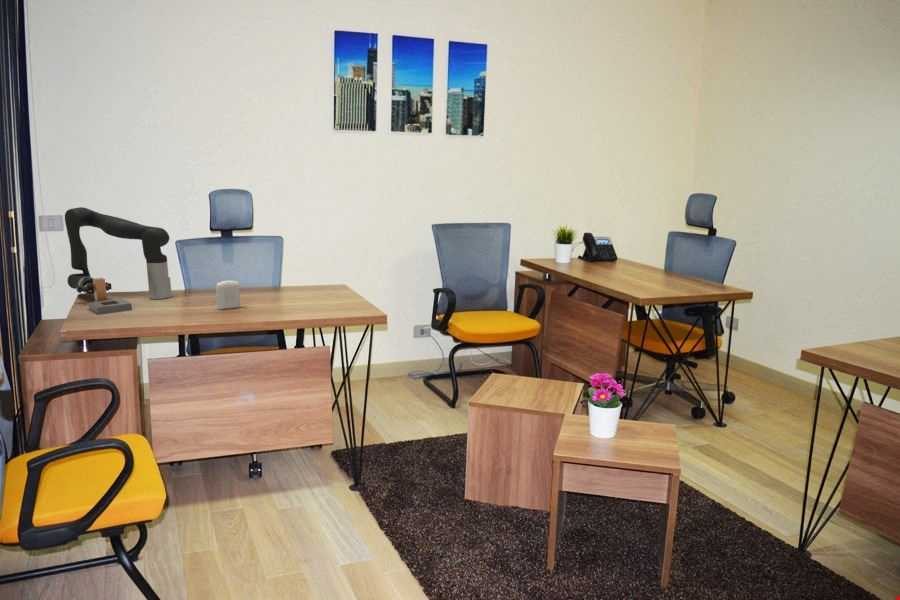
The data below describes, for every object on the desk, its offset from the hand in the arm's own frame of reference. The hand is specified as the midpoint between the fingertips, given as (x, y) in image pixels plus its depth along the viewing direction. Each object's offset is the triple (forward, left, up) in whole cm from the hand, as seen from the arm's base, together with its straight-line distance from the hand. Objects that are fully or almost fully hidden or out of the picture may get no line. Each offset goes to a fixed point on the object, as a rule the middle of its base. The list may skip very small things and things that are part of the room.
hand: (98, 289), depth 331 cm
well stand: (0, +17, -7) cm, 18 cm away
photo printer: (-41, +49, -7) cm, 64 cm away
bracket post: (0, +3, -7) cm, 7 cm away
